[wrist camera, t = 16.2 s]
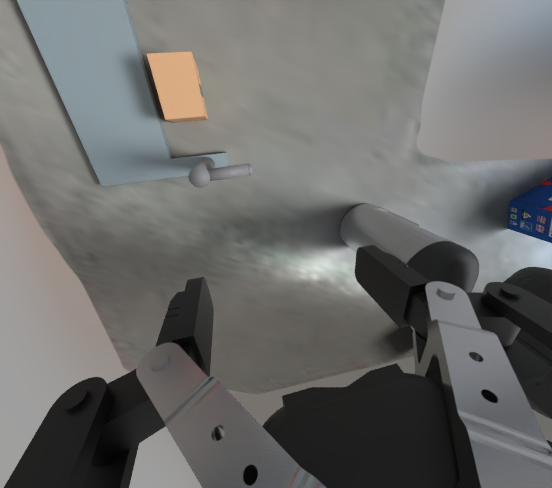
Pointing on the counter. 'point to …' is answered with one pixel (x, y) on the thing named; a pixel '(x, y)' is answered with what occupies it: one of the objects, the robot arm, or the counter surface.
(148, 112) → the screw clamp
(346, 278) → the counter surface
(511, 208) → the blue cardboard box
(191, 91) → the tan wooden brick
